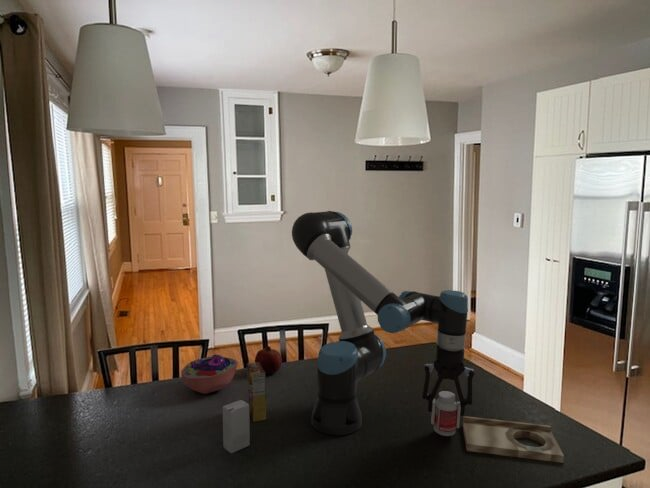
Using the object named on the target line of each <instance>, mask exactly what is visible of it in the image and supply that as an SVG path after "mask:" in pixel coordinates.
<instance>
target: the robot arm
mask: <svg viewBox="0 0 650 488" xmlns="http://www.w3.org/2000/svg"><path fill="white" fill-rule="evenodd" d="M352 235H353V226H352V223H351V221H350V219H349V217H347V216H346V215H345V214H343V213H342V212H340V211H334V210H328V211H318V212H311V211H310V212H306V213H303V214H301V215H300V216H298V217H297V218H296V219H295V221H294V222H293V225H292V229H291V238H292V241H293V242H294V245H295V247H296V248H297V250H298V251H299V252H300V253H301V254H302V255H303V256H305V257H306V258H307V259H308V260H310V261H315V262H316V263H318V265H320V266H321V267H322V268H323V269H324V272H325V275H326V279H327V283H328V286H329V291H330V294H331V297H332V301H333V306H334V308H335V312H336V313H335V314H336V315H337V320H338V323H339V327H340V332H341V333H340V334H339V336H338V340H337V341H331V342H328V343H326V344H324V345H323V346H322V347H320V349H319V351H318V355H317V360H316V361H317V362H316V364H317V365H316V366H317V398H316V401H315V403H314V406H313V409H312V411H311V412H312V413H311V422H310V423H311V425H312V427H313V428H314V429H315V430H316V431H318V432H320V433H322V434H325V435H329V436H330V435H331V436H345V435H350V434H353V433H355V432H357V431H358V430H360V428H362V425H363V423H362V422H363V421H362V418H363V415H362V412H361V409H360V406H359V402H358V399H357V398H358V397H357V385H358V383H359V381H361V380H362V379H364V378H366V377H367V376H369V375H371V374H373V373H375V372H376V371H377V370H379V369H380V368H381V367H382V366H383V364H384V362H385V359H386V356H387V350H386V349H387V348H386V346H385V343H384V340H382V338H380V337H379V336H378V335H377V334H376V333H375V331H374V328H373V327H372V326H370V325H368V324H367V320H366V316H365V313H364V309H363V304H365V306H367V307H368V308H369V310H371V311H372V312H373V313H374V314H375V315H377V323H378V324H379V326H380V328H381V329H382V330H383V331H384V332H387V333H389V334H396V333H399V332H402V331H405V330H406V329H408V328H409V327H411V326H413V325H415V324H417V323H418V322H420V321H424V322H425V321H426V322H429V323H434V324H435V323H436V324H437V335H436V344H437V345H436V349H435V360H434V361H433V363H428V362H425V363H424V372H425V374H424V380H423V388H422V393H421V394H422V399H423V400H426V401H427V402H428V403H427V411H428V412H429V413H431V416H430V422H431V423H430V425H433V426H434V417H435V402H436V398H435V397H436V394H437V393H438V390H439V388H440V386H441V384H442V382H443V380H451V381H454V385H455V388H456V393H457V395H458V398H459V399H458V400H459V401H456V404H457V421H456V429H460V423H461V422H460V421H461V420H460V419H461V417H463V416H465V411H466V410H465V408H466V406H467V405H472V404H473V379H474V375H475V371H474V368H473V367H466V366H465V363H464V362H465V361H464V359H465V347H466V346H465V345H466V344H465V343H466V331H467V320H468V312H469V307H468V305H469V303H468V301H469V298H468V295H467V294H466V293H465V292H463V291H460V290H459V291H458V290H452V289H451V290H450V289H448V290H447V289H446V290H442V291H441V292H440V293H439V295H432V294H427V293H422V292H417V291H415V290H413V291H411V290H403V291H402V292H401V293H400V295H397V294H395V292H393V291H392V290H391V289H390V288H388V287H387V286H386V285H385V284H383V283H382V282H381V281H380V280H379V279H378V278H376V277H375V276H374V275H373V274H372V273H371V272H370V271H368V270H367V269H366V268H364V266H362V265H361V264H359V262H357V260H355V259H354V258H353V257H352V256H350V255H349V254H348V253H349V251H350V249H351V243H350V241H351V239H352ZM362 303H363V304H362ZM433 369H434V370H435V371H436V372H437V375H436V378H435V380H434V382H433V385H432V388H431V390H430V392H429V393H428V391H429V384H430V380H431V379H430V378H431V373H432V372H433ZM463 372H464V374H465V376H466V398H465V397H464V394H463V390H462V386H461V382H460V379H459V377H460V376H461V375H462V374H463Z"/></svg>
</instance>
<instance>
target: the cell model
mask: <svg viewBox="0 0 650 488" xmlns="http://www.w3.org/2000/svg"><path fill="white" fill-rule="evenodd" d="M238 364H239V362H238V361H237V360H236V359H233V358H229V357H226V356H222V355H221V354H213V355H212V356H207V357H203V358H198V359H194V360H192V361H190V362H189V363H187V364H186V365H185V366H184V367H183V368H182V370H181V371H180V373H181V380H182V383H183V384H184V385H185V386H187V387H188V388H189V389H191V390H192V391H194V392H197V393H201V394H203V395H204V394H205V395H206V394H211V393H213V392H217V391H222V390H224V389H225V388H227V386H228V385H230V383H231V382H232V380H233V379H234V377H235V375H236V371H237V367H238Z"/></svg>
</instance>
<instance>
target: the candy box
mask: <svg viewBox="0 0 650 488" xmlns="http://www.w3.org/2000/svg"><path fill="white" fill-rule="evenodd" d="M246 367H247V368H246V369H247V370H246V371H247V397H248V398H247V401H248V402H247V404H249V414H250V416H251V418H252V422H253V423H254V422H255V423H256V422H260V421H265V420H267V400H266V399H267V395H266V394H267V393H266V389H267V388H266V385H267V384H266V373H265V372H264V370H263V368H262V366H261V365H260V363H259V362H255V361H254V362H248V363H247V364H246Z"/></svg>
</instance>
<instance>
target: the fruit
mask: <svg viewBox="0 0 650 488" xmlns="http://www.w3.org/2000/svg"><path fill="white" fill-rule="evenodd" d="M254 362H259V363H260V365H261V366H262V368H263V370H264V372H265V374H272V375H273V374H275V373H276V372H278V371H279V370H281V367H282V364H283V358H282V355H281V353H280V352H279V351H278V350H276V349H275V348H272V347H271V346H270V345H269V346H268V345H266V347H265V348H262V349H260V350H259V351H257V352H256V354H255V359H254Z"/></svg>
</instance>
